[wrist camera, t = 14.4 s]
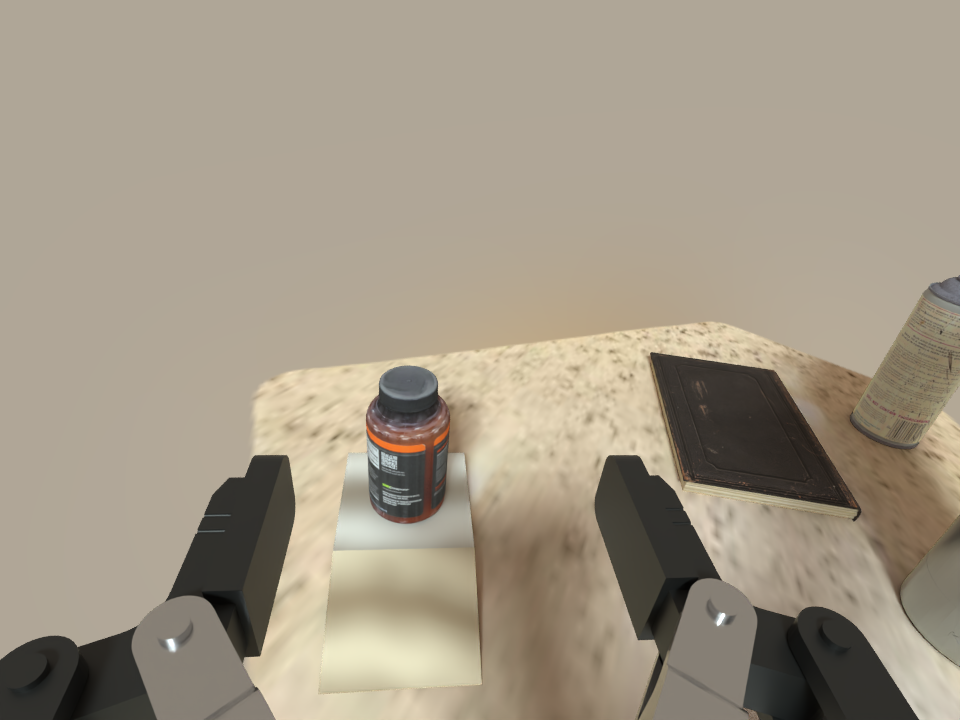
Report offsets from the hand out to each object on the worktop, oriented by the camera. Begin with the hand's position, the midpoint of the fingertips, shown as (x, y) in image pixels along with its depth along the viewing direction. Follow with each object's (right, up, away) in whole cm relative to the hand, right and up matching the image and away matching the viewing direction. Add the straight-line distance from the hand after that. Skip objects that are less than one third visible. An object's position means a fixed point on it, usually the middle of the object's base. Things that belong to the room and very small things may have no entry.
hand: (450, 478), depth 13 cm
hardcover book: (+29, -5, +45) cm, 54 cm away
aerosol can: (+47, -5, +48) cm, 67 cm away
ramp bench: (-5, -13, +27) cm, 31 cm away
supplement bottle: (-5, -8, +28) cm, 30 cm away
